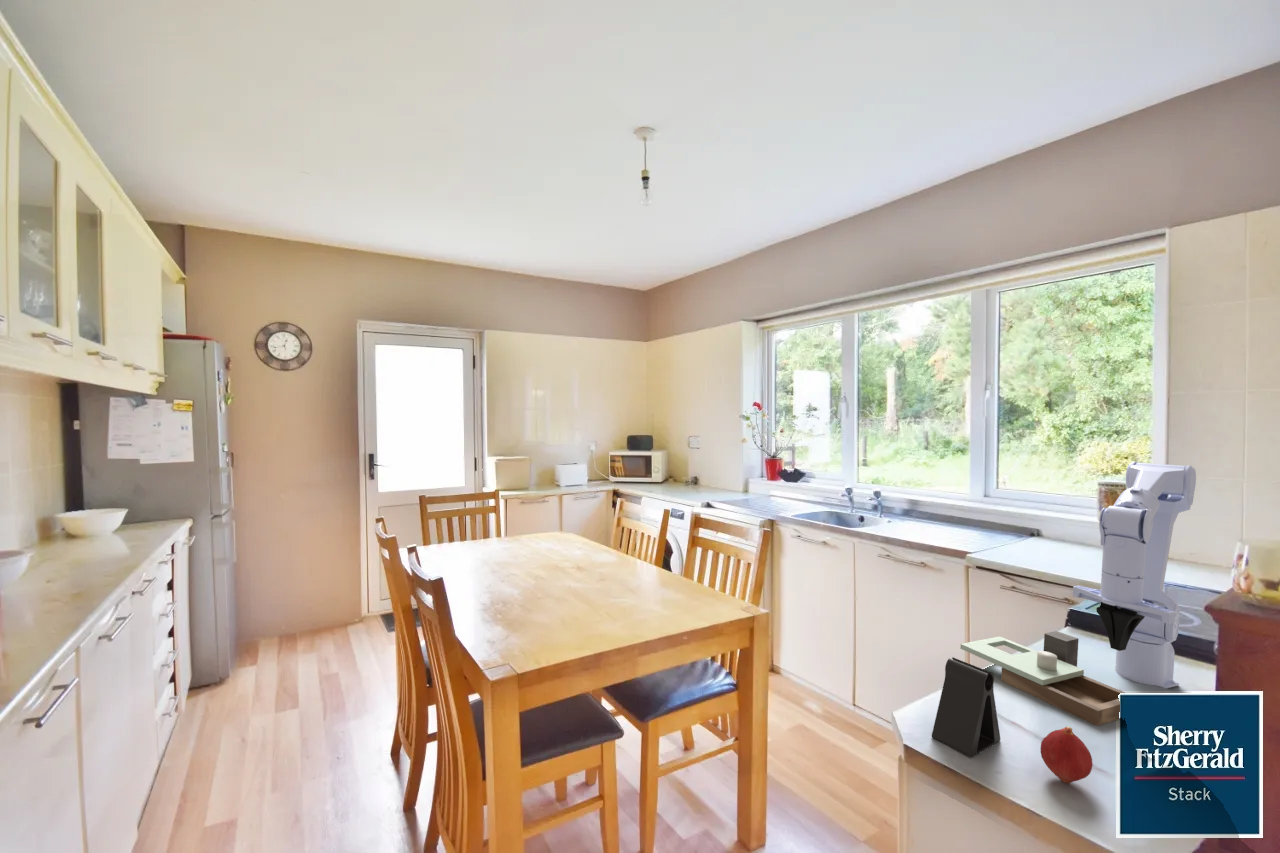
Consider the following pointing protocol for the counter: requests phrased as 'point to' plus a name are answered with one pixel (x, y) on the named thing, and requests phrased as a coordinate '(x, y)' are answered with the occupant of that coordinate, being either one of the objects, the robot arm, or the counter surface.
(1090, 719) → the brown box
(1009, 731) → the counter surface
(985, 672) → the phone stand
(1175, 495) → the robot arm
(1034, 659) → the lid
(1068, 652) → the block
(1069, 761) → the onion
